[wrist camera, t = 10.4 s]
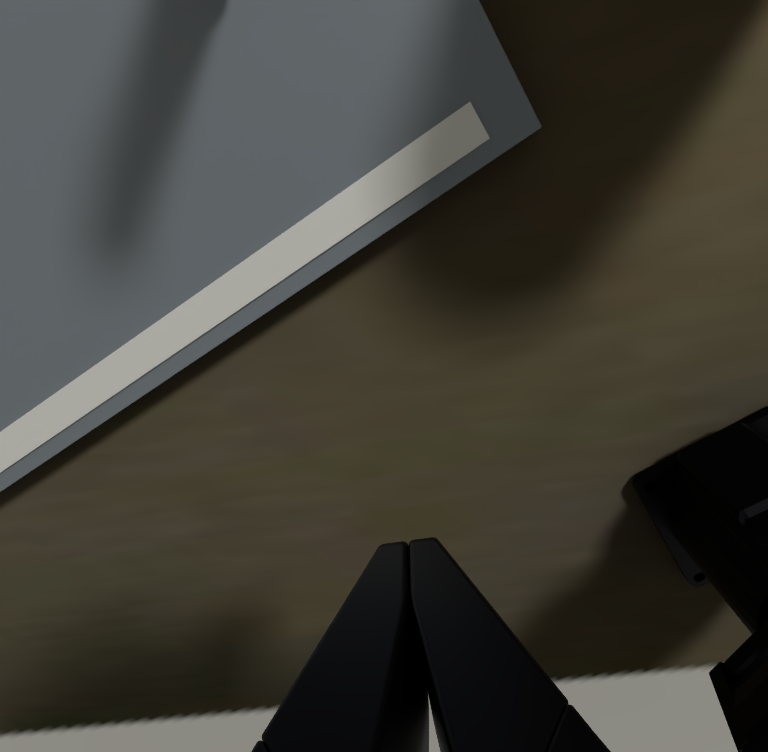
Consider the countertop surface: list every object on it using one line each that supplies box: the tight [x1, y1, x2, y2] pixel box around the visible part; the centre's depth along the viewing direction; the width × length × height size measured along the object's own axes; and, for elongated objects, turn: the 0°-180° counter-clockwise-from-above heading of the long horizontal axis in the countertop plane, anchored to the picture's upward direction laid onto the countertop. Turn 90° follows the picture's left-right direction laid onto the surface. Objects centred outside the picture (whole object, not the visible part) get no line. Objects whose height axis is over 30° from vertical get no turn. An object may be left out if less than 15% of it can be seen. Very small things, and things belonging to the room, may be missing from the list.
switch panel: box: [0, 0, 542, 492], centre depth 17 cm, size 15×25×1 cm, turn 123°
